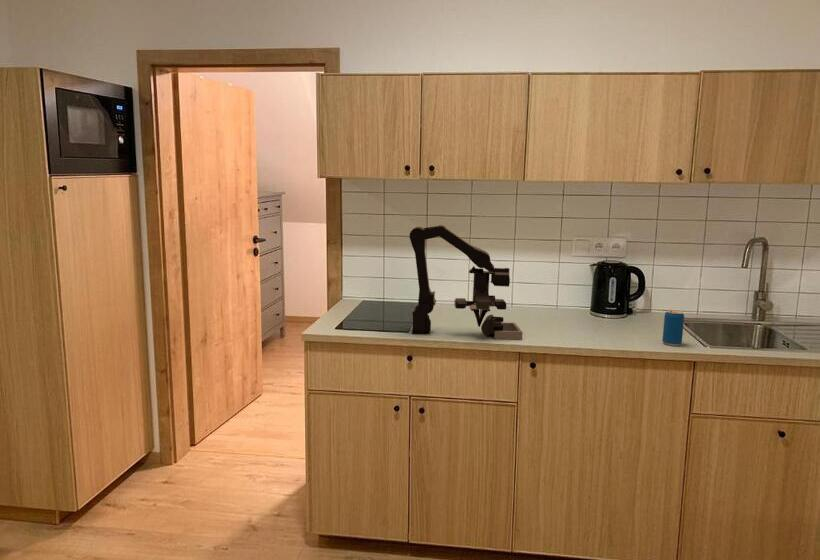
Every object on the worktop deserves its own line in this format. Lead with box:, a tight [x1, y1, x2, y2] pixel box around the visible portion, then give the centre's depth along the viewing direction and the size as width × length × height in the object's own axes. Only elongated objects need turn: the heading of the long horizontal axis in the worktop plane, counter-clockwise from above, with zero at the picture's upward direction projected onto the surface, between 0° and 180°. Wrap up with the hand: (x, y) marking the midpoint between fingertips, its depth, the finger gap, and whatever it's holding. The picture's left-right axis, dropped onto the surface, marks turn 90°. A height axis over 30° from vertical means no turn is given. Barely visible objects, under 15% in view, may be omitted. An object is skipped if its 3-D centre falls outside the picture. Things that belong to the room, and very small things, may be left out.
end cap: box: [480, 314, 504, 339], centre depth 237 cm, size 10×7×7 cm
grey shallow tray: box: [493, 321, 523, 341], centre depth 238 cm, size 10×14×3 cm
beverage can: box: [662, 309, 685, 347], centre depth 228 cm, size 6×6×12 cm
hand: (479, 326), depth 237 cm, fingers closed
